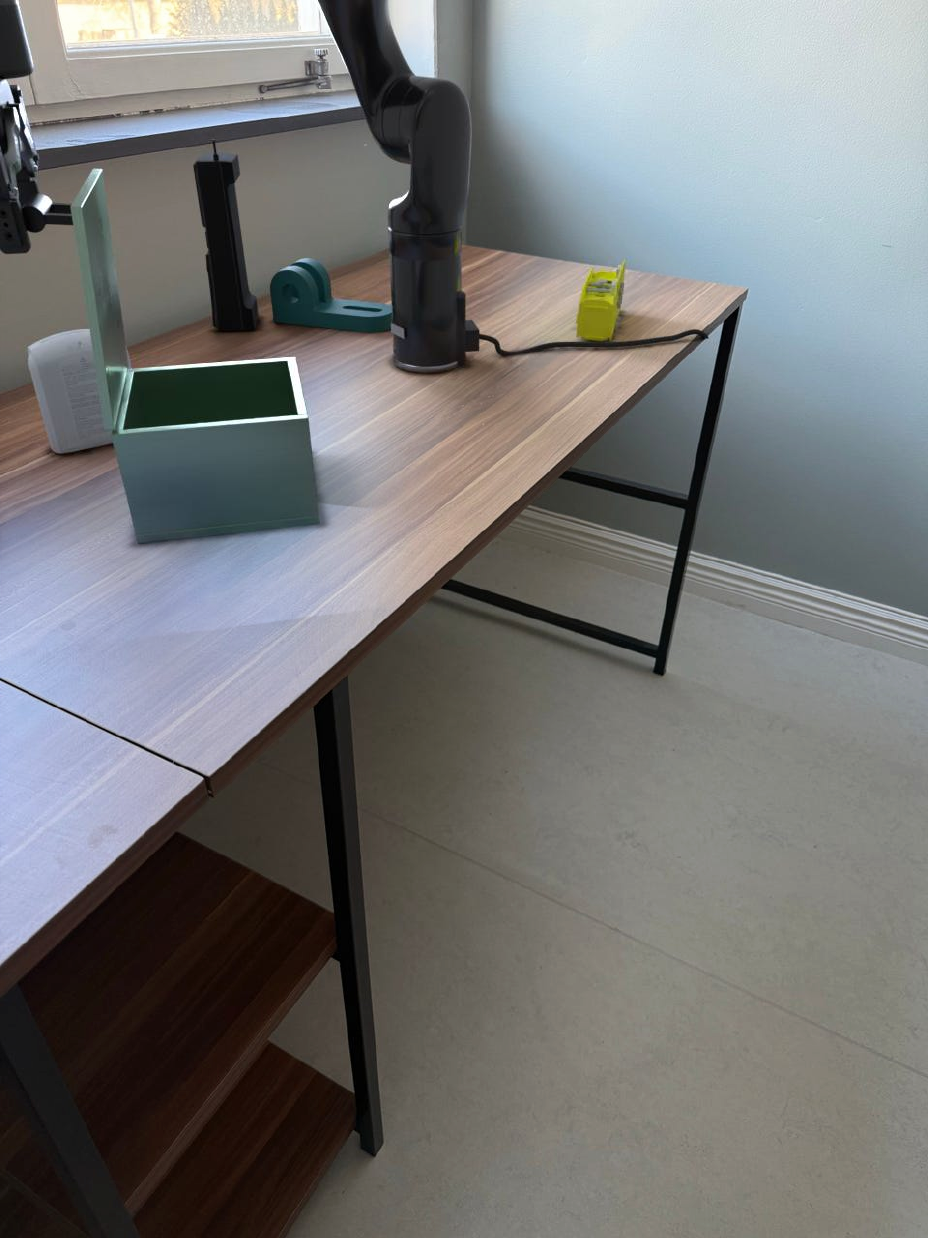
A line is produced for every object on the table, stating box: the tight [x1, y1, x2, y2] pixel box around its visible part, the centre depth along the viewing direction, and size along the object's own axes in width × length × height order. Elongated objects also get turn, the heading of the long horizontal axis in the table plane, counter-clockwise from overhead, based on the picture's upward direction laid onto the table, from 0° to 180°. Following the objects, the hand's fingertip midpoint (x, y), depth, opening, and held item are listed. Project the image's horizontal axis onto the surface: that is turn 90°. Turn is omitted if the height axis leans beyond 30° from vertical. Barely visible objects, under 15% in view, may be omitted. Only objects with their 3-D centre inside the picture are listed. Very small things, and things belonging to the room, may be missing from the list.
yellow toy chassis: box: [575, 259, 626, 342], centre depth 130 cm, size 16×6×8 cm, turn 167°
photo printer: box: [27, 328, 133, 455], centre depth 96 cm, size 10×4×12 cm, turn 123°
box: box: [111, 356, 320, 544], centre depth 87 cm, size 17×16×11 cm
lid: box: [21, 168, 128, 430], centre depth 76 cm, size 18×16×6 cm
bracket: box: [269, 257, 392, 333], centre depth 132 cm, size 18×7×8 cm, turn 73°
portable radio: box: [193, 138, 260, 332], centre depth 126 cm, size 8×6×25 cm
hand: (26, 239), depth 73 cm, fingers open, 8 cm apart
